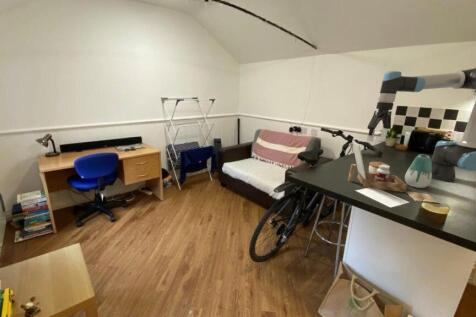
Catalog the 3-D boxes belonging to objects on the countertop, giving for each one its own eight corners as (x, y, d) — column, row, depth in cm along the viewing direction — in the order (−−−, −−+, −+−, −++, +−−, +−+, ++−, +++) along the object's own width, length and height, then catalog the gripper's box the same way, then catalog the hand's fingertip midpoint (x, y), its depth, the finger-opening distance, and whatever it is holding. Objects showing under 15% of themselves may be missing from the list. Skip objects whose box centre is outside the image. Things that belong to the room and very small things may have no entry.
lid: (353, 140, 130) (352, 140, 130) (359, 145, 117) (358, 145, 118) (359, 170, 134) (357, 171, 134) (365, 178, 122) (364, 179, 122)
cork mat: (427, 194, 117) (427, 193, 117) (439, 204, 107) (439, 202, 107) (405, 192, 119) (406, 191, 118) (415, 201, 109) (415, 199, 109)
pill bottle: (371, 183, 128) (375, 164, 125) (377, 181, 131) (382, 163, 128) (382, 187, 123) (387, 168, 120) (388, 185, 126) (393, 167, 123)
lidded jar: (390, 180, 134) (394, 165, 131) (370, 178, 136) (373, 163, 133) (382, 174, 144) (386, 160, 141) (364, 172, 146) (367, 158, 143)
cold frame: (394, 182, 132) (398, 165, 129) (405, 192, 119) (410, 174, 116) (345, 176, 137) (348, 160, 134) (351, 185, 124) (355, 168, 121)
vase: (430, 192, 120) (440, 160, 115) (403, 186, 126) (412, 155, 121) (426, 185, 130) (436, 155, 124) (402, 180, 136) (410, 151, 130)
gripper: (389, 101, 132) (380, 137, 138) (366, 100, 119) (357, 140, 125) (404, 103, 126) (394, 140, 132) (380, 102, 113) (370, 143, 119)
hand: (376, 140), depth 129 cm, fingers open, 13 cm apart
